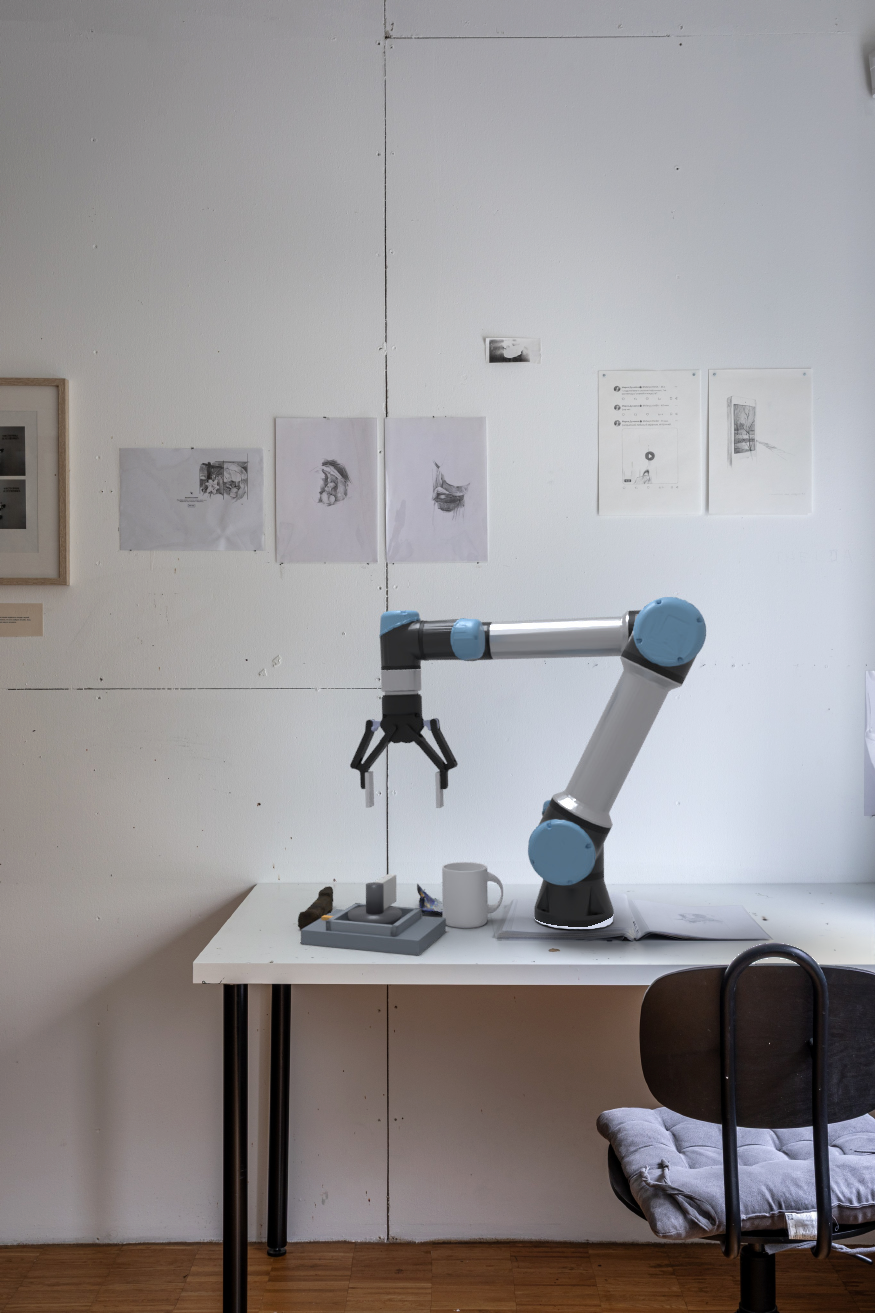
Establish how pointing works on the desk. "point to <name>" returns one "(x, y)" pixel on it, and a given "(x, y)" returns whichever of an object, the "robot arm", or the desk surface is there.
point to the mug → (467, 894)
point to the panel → (375, 932)
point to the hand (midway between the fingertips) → (404, 807)
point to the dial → (378, 903)
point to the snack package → (427, 902)
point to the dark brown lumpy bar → (317, 908)
